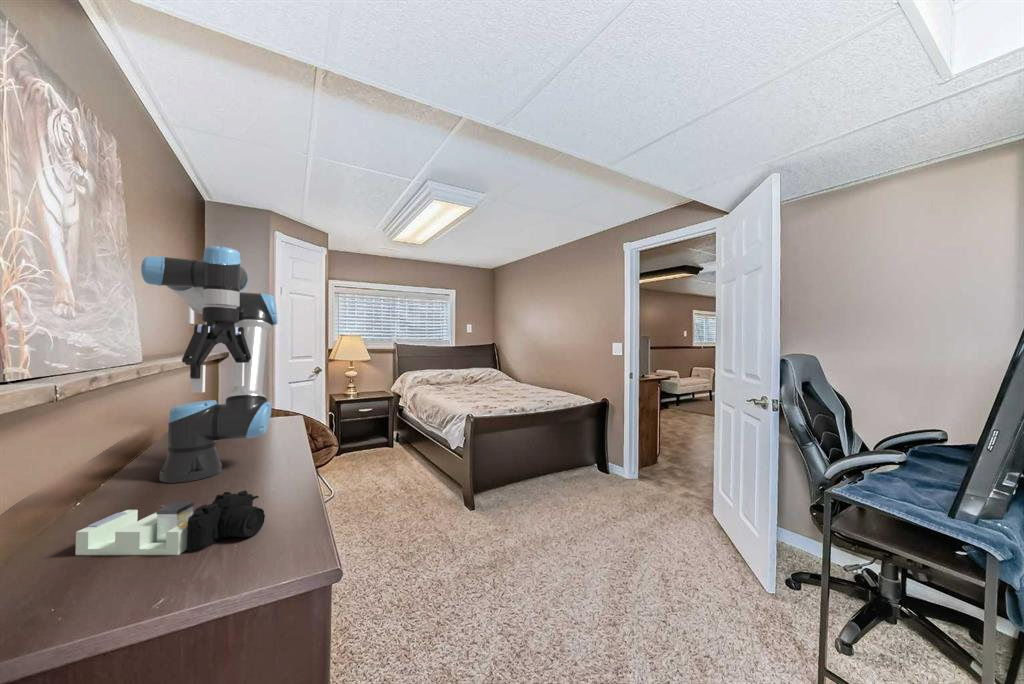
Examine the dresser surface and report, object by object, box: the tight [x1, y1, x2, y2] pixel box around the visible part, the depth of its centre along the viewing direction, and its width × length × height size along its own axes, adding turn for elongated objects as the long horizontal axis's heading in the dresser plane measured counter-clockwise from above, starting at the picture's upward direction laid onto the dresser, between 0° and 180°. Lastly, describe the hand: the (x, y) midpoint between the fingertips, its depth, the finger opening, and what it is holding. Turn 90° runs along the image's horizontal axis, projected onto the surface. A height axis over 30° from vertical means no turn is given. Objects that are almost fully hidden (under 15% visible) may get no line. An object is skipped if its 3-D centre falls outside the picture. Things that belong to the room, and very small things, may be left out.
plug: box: [155, 501, 195, 543], centre depth 79 cm, size 4×4×7 cm
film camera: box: [186, 490, 266, 553], centre depth 82 cm, size 15×10×9 cm, turn 171°
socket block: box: [75, 509, 188, 556], centre depth 79 cm, size 10×20×5 cm, turn 91°
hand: (219, 389), depth 96 cm, fingers open, 13 cm apart
